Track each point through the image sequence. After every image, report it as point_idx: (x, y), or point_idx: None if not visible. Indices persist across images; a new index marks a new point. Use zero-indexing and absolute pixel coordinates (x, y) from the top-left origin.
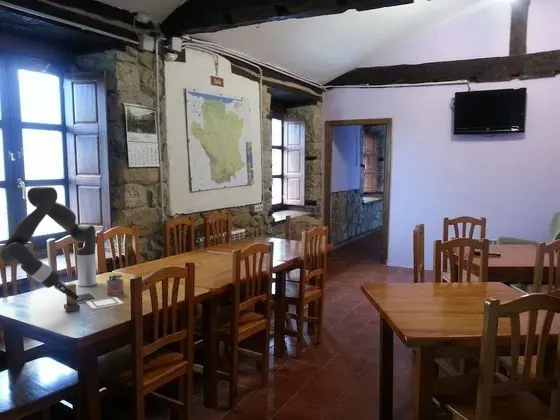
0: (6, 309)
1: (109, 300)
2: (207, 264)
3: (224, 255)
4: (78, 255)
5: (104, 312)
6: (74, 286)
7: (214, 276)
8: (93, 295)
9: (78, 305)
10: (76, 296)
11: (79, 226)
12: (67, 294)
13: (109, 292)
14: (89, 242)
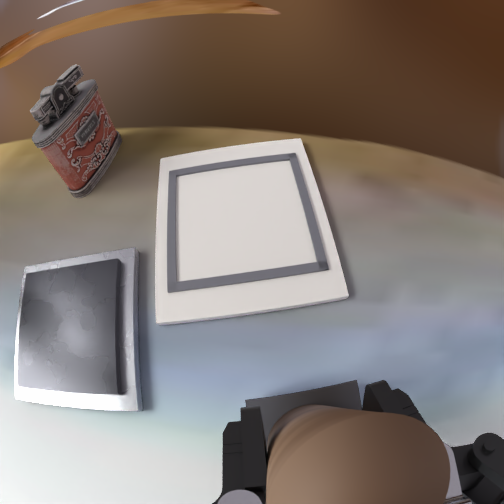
0: None
1: (214, 188)
2: (61, 33)
3: (43, 31)
4: None
5: (422, 240)
6: (426, 431)
7: (152, 8)
8: (59, 260)
9: (356, 391)
10: (408, 401)
11: None
12: (488, 479)
13: (84, 179)
14: None
